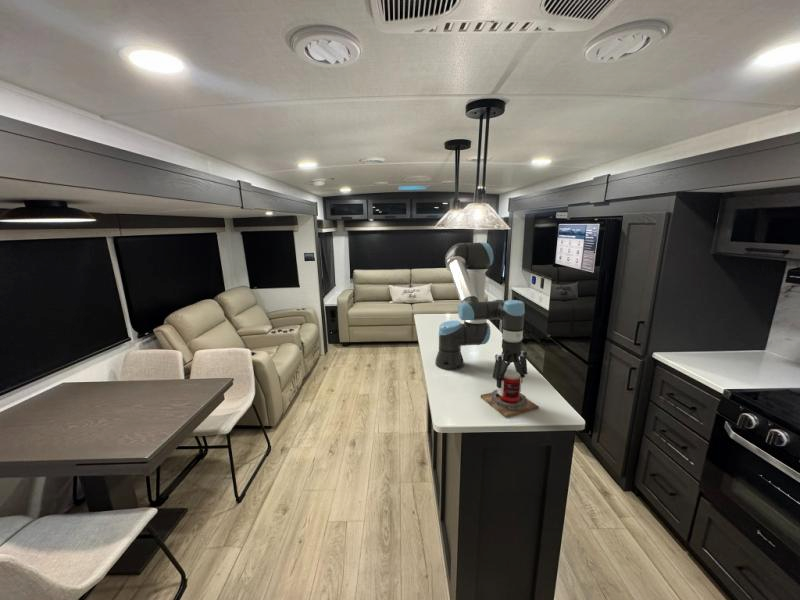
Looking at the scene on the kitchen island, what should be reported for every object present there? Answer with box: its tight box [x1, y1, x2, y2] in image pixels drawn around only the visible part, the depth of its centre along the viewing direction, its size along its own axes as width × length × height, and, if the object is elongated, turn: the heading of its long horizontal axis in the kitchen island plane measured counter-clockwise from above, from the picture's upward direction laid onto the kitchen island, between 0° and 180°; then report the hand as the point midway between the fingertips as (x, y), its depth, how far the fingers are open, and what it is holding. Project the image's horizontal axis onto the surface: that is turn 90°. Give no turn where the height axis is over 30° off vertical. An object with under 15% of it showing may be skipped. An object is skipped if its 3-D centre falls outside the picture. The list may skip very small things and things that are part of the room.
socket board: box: [480, 389, 540, 419], centre depth 123 cm, size 16×16×3 cm
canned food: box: [499, 369, 521, 403], centre depth 122 cm, size 8×8×11 cm
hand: (509, 392), depth 123 cm, fingers open, 8 cm apart
